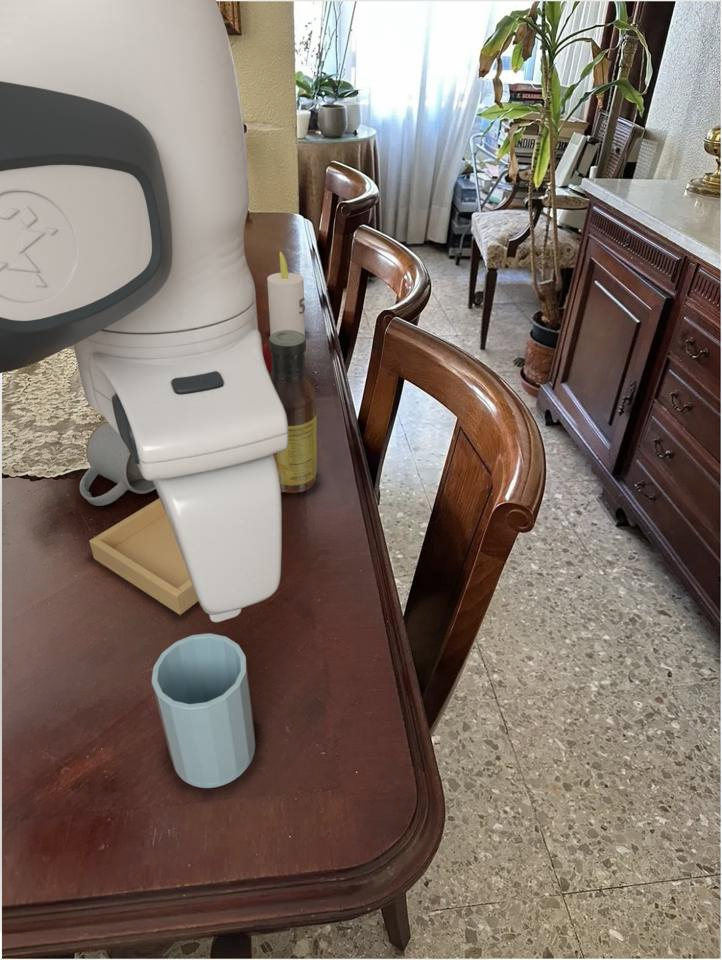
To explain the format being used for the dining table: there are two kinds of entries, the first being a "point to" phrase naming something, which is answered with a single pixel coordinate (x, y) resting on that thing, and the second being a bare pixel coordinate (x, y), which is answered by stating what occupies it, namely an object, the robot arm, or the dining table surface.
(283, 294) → the candle
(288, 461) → the sauce bottle
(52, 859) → the dining table surface
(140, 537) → the tray
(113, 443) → the ceramic mug
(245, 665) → the cup
